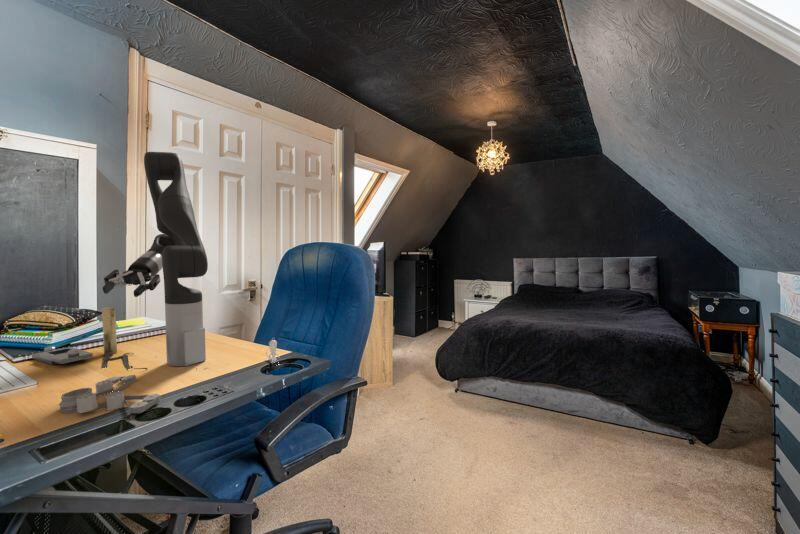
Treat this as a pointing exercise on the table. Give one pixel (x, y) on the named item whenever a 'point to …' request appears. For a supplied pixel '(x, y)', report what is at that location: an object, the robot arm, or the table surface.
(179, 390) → the table surface
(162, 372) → the table surface
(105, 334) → the pin
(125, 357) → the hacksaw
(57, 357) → the grey base plate
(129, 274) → the robot arm
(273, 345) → the toy figurine
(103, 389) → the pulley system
